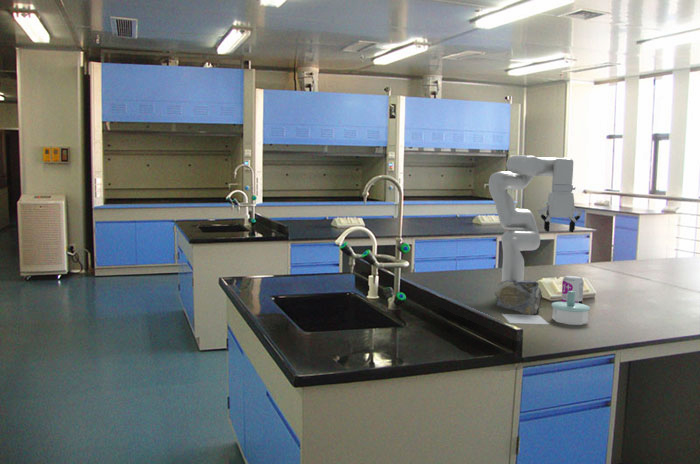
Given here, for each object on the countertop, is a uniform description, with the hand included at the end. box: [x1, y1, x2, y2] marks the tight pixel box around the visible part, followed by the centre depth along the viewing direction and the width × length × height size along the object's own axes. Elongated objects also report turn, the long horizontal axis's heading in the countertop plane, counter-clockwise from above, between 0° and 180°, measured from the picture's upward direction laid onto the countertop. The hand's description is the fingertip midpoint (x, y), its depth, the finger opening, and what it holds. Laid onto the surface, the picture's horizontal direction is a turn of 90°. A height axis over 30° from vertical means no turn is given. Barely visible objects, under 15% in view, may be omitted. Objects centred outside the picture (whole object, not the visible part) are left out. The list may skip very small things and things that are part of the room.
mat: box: [501, 313, 550, 325], centre depth 228 cm, size 14×15×1 cm
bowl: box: [551, 307, 589, 326], centre depth 227 cm, size 12×12×6 cm
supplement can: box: [560, 274, 585, 304], centre depth 242 cm, size 8×8×15 cm
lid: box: [551, 291, 591, 312], centre depth 226 cm, size 14×14×6 cm
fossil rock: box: [494, 279, 543, 315], centre depth 245 cm, size 20×9×15 cm, turn 32°
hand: (559, 231), depth 234 cm, fingers open, 9 cm apart
